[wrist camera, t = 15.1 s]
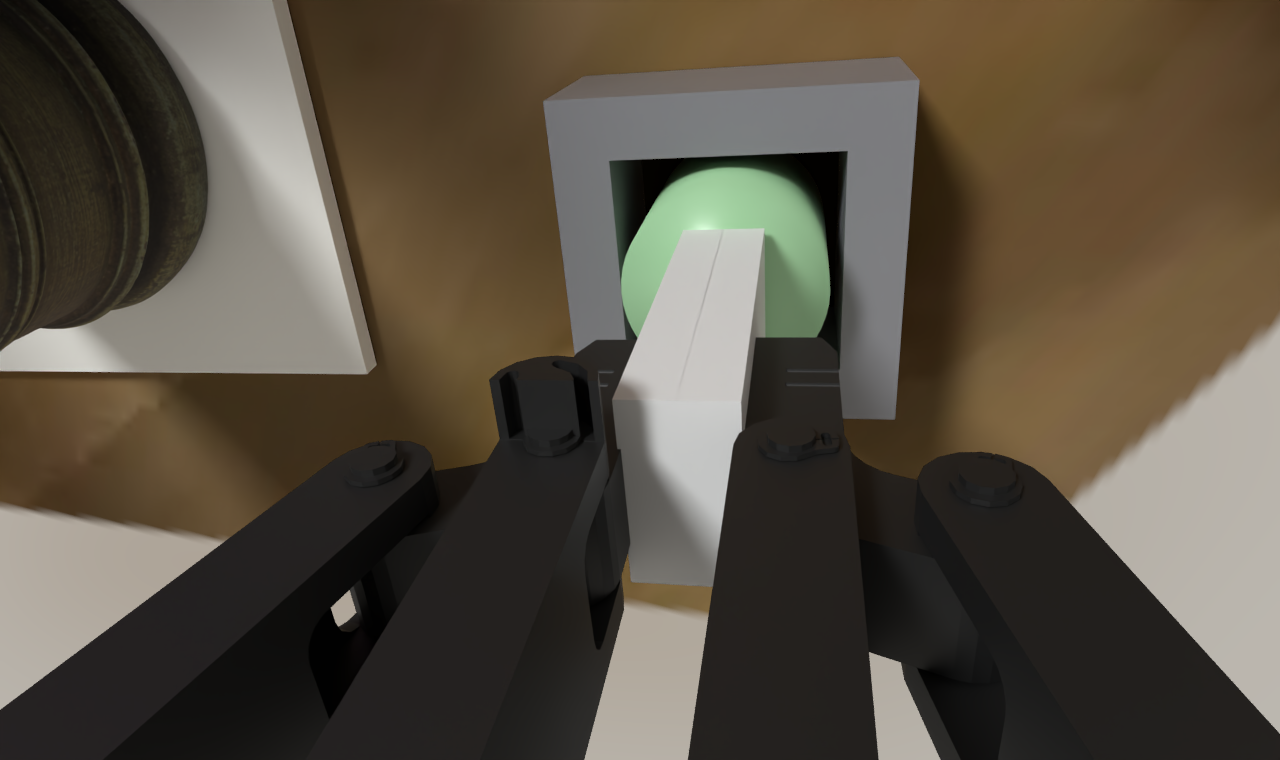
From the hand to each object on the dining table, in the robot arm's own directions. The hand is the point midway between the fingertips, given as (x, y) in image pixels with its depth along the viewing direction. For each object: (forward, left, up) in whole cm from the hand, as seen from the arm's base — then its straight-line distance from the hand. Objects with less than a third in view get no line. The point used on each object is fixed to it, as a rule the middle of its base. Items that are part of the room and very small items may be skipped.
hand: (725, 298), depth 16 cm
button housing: (0, 0, -5) cm, 5 cm away
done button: (0, 0, -6) cm, 6 cm away
